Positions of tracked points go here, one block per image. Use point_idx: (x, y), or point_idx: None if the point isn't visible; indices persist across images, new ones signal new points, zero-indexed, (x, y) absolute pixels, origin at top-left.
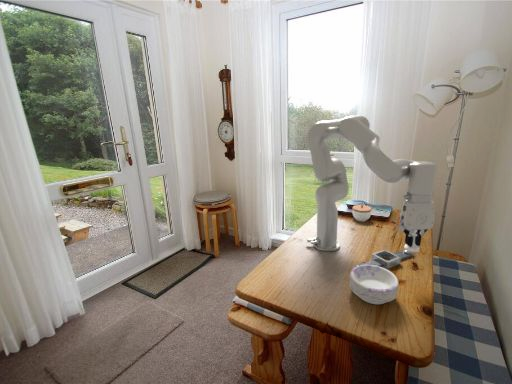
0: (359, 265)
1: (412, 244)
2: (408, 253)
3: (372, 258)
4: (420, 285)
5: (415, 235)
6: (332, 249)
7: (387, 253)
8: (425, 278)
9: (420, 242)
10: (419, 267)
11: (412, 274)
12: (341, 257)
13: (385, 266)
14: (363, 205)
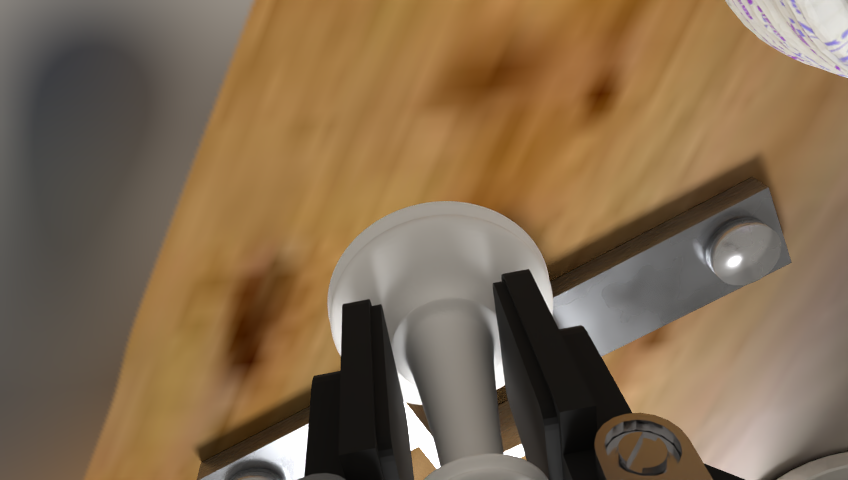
0: (775, 255)
1: (469, 327)
2: (252, 472)
3: None
4: (321, 26)
5: (479, 474)
6: (834, 469)
7: None
8: (229, 144)
9: (341, 347)
10: (219, 307)
11: (324, 199)
12: (795, 388)
13: None
14: None
